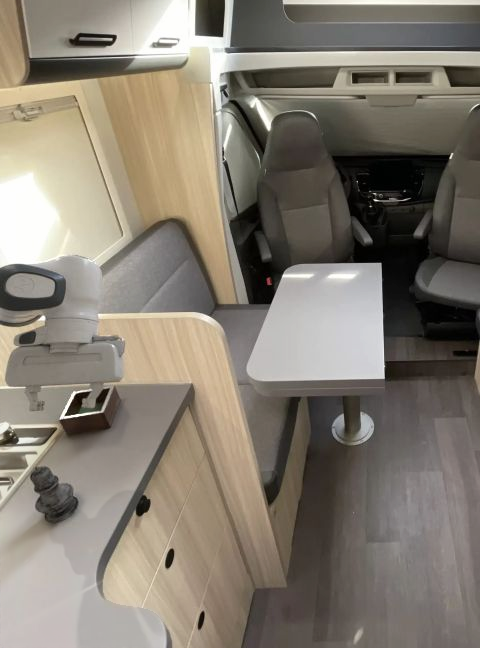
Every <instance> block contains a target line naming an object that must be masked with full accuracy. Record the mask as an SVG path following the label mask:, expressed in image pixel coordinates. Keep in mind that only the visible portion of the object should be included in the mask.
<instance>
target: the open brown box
mask: <svg viewBox="0 0 480 648" xmlns="http://www.w3.org/2000/svg"><path fill="white" fill-rule="evenodd" d="M91 391H92V389H90V388H88V389H81V390H75V391H73V392H72V393H71V395H70V397H69V398H68V401H67V403H66V405H65V406H64V409H63V411H62V413H61V414H60V417H59V419H58V421H59V423H60V425H61V427H62V428H63V430H64V433H65V434H66V435H67V436H71V435H76V434H82V433H87V432H94V431H99V430H105V429H110V428H112V425H113V422H114V420H115V418H116V414H117V411H118V409H119V406H120V404H121V400H122V399H121V396H120V394H119V393H118V390H117V387H116V385H115V384H114V385H108V386H103V390H102V391H101V393H100V394H99V395H98V397H97V398H96V402H95V407H94V408H82V404H83V403H82V400H83V399H86V398H87V397H88V396H89V394H90V393H91Z"/></svg>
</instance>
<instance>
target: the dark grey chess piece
mask: <svg viewBox="0 0 480 648" xmlns="http://www.w3.org/2000/svg"><path fill="white" fill-rule="evenodd" d="M29 479H30V481H31V483H32V484H33V486H34V487H33V491H34V493H36V494H39V496H38V497H37V499H36V501H35V505H34V507H35V510H36V511H37V512H38V513H41V514H44V519H45V521H46V522H48V523H51V524H55V523H59V522H63V521H65V520H66V519H68V518H69V517H70V516H72V514H74V513H75V511H76V510H77V509H78V506H79V499H78V498H77V497H76V496H74V486H73V485H72V484H71V483H68V482H62V483H61V482H59V477H58V475H54V474H53V472H52V470H51V469H50V468H49V466H45V465H43V466H35V467H34V469H33V470H32V472H31V473H30V474H29Z"/></svg>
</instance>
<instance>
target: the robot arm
mask: <svg viewBox="0 0 480 648" xmlns="http://www.w3.org/2000/svg"><path fill="white" fill-rule="evenodd" d="M103 287H104V286H103V272H102V269H101V267H100V266H99V264H98V263H96V262H95V261H93V260H92V259H90V258H88V257H85V256H82V255H78V254H67V253H65V254H60V255H58V256H56V257H54V258H51V259H47V260H43V261H38V262H30V263H11V264H6V265H3V266H1V267H0V326H3V327H9V328H21V327H27V326H29V325H31V324H34V323H35V322H37V321H39V320H40V319H41V318H42V317H44V325H41V326H38V327H36V328H33V329H30V330H27V331H24V332H21V333H18V334H16V335H14V338H13V345H14V346H15V348H14V349H13V350H12V351H11V352H10V355H9V357H8V360H7V365H6V369H5V375H4V382H5V384H6V385H7V386H8V387H9V388H24V394H25V396H26V397H27V400H28V402H29V406H28V407H29V408H28V410H29V412H41V411H43V410H44V409H45V404H46V403H45V400H41V399H40V397H39V394H38V393H40V392H41V389H42V387H50V386H51V387H52V386H72V385H88V384H89V389H92V391H91V393H90V394H89V396H88V397H87V398H86V399H83V400H82V403H83V404H82V408H94V407H95V402H96V398H97V397H98V395H99V394H100V393H101V391H102V390H103V387H104V385H105V384H108V383H109V384H110V383H120V382H121V381H122V380H123V379H124V377H125V356H124V353H125V351H126V342H125V340H124V338H122V337H120V336H119V335H118V334H110V335H105V334H104V335H103V334H102V335H101V334H100V335H99V328H100V317H99V309H100V307H101V304H102V300H103V299H102V298H103Z"/></svg>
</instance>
